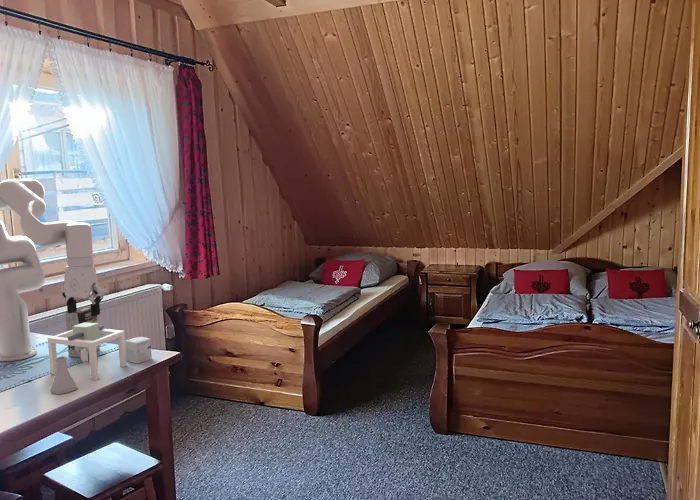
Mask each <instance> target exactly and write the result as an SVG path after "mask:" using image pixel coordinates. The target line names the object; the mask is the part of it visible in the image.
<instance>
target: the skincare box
mask: <svg viewBox="0 0 700 500" xmlns="http://www.w3.org/2000/svg"><path fill="white" fill-rule="evenodd" d="M151 344H152V343H151V338H149V337H144V336H136V337H133V338H130V339H125V347H126V361H127V362H130V363H134V364H140V363H143V362H146V361H147V362H148V361H149V359H150V360H152V359H153V356H152V345H151Z"/></svg>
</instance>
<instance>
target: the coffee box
mask: <svg viewBox="0 0 700 500" xmlns="http://www.w3.org/2000/svg"><path fill="white" fill-rule="evenodd" d="M64 313H65V314H64V315H65V323H66V325H65V326H66V332H67V331H70V330H73V329H72V326H75V325H78V324H81V323H84V322H86V323H98V315H96V316H91V306H80V307H77V311H76V312H73V313H70V314H69V313H68V312H67V311H66V312H64ZM67 338H68V337H67ZM67 347H68V348H67V352H68V357H73V358H81V351H80V350H79V351H75V346H73V345H67ZM100 348H101V347H100ZM100 348H97V349H96V352H98V351H99V350H101V349H100ZM87 352H88V356H89V351H87Z"/></svg>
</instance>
